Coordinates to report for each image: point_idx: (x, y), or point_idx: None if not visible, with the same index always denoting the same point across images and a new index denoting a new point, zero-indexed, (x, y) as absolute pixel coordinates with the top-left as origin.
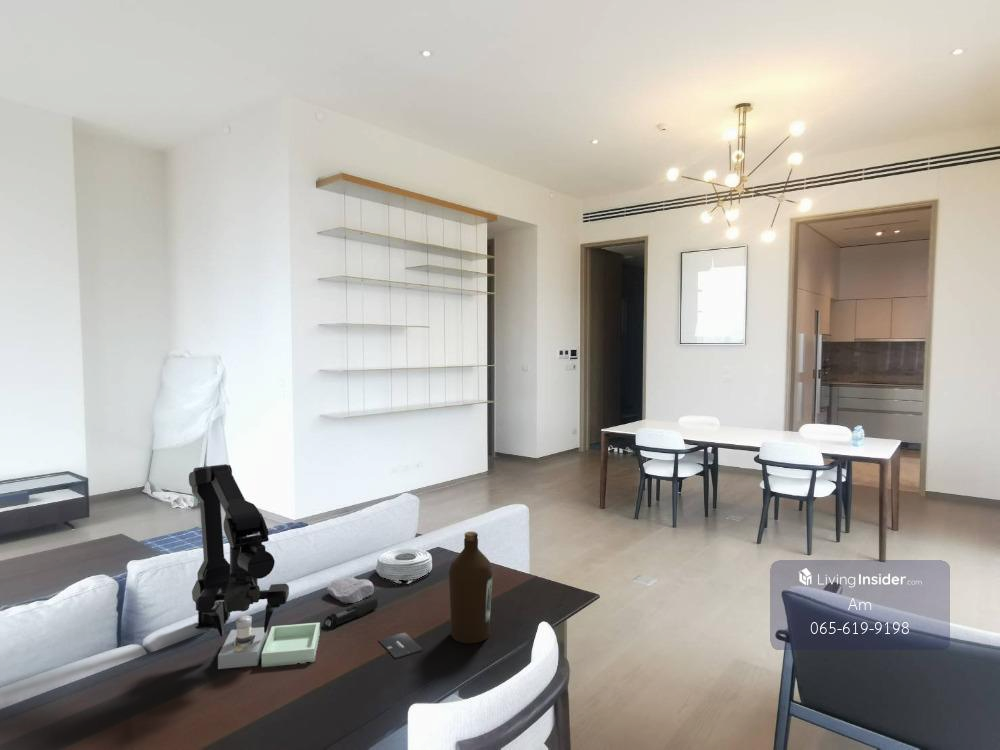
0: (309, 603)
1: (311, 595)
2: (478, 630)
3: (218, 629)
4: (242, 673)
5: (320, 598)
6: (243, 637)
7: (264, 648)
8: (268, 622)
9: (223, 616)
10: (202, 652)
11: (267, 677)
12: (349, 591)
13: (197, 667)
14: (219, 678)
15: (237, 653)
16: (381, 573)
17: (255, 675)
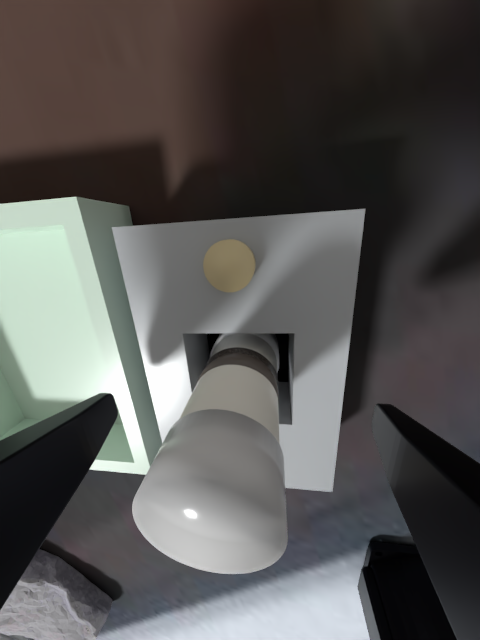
0: (141, 576)
1: (152, 605)
2: None
3: (447, 447)
4: (200, 150)
5: (123, 588)
6: (226, 368)
7: (90, 267)
8: (9, 438)
9: (453, 624)
10: (435, 389)
11: (58, 86)
12: (14, 597)
13: (452, 252)
14: (311, 99)
15: (232, 221)
16: (5, 636)
17: (127, 118)
